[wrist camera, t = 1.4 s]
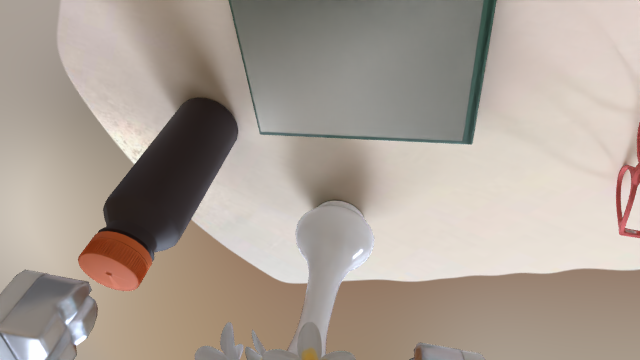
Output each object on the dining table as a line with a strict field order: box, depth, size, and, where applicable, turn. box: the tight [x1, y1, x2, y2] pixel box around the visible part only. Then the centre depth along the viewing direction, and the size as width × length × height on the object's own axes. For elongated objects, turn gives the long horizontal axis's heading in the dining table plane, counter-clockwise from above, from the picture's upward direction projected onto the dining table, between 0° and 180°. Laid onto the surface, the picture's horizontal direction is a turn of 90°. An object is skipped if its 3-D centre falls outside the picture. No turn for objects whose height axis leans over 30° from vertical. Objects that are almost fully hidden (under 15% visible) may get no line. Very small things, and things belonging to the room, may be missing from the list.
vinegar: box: [78, 98, 238, 291], centre depth 41 cm, size 7×7×20 cm
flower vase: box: [195, 201, 374, 360], centre depth 45 cm, size 13×18×25 cm
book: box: [229, 0, 497, 144], centre depth 38 cm, size 20×14×3 cm
